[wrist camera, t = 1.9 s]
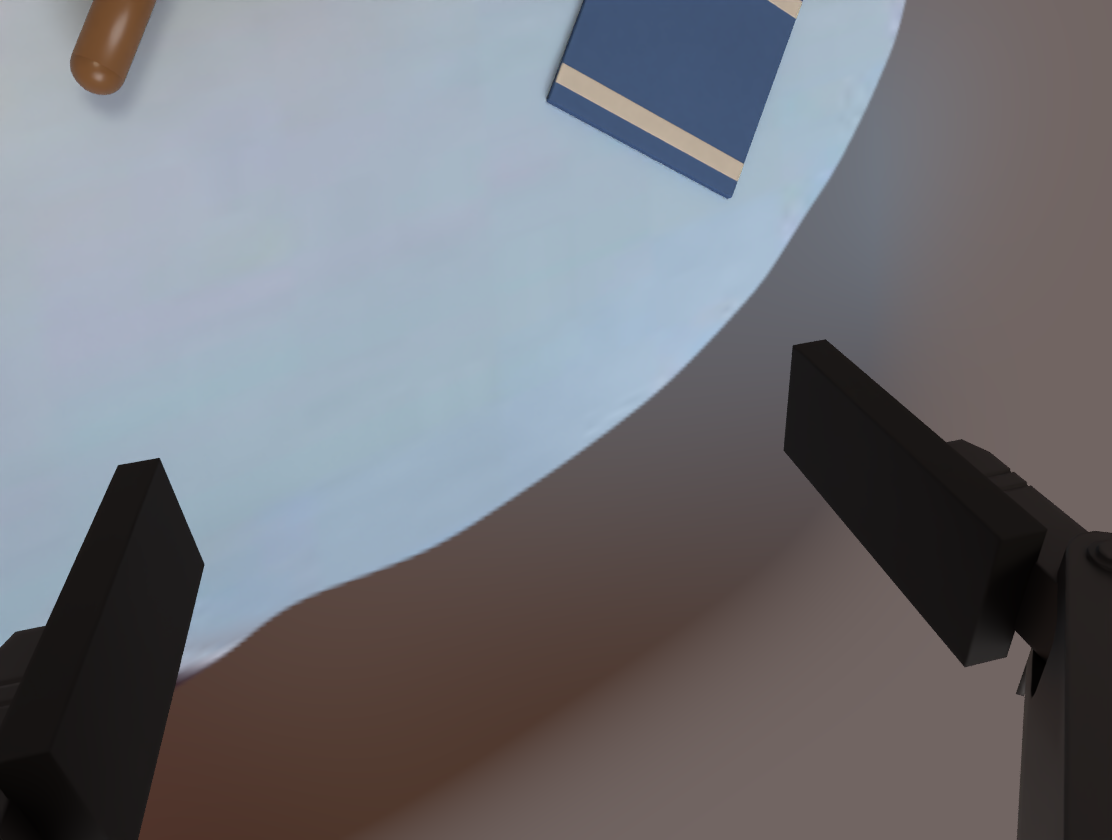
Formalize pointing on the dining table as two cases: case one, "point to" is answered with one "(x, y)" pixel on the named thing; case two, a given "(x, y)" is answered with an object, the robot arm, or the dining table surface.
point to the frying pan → (109, 43)
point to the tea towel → (676, 78)
